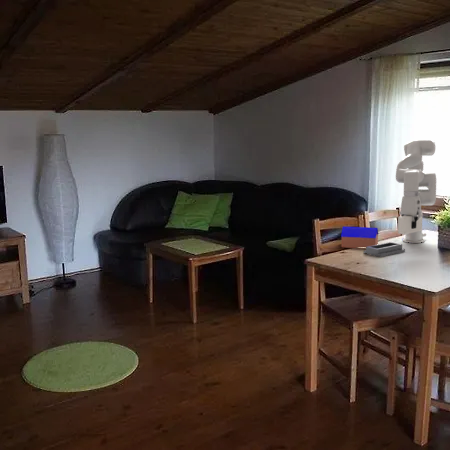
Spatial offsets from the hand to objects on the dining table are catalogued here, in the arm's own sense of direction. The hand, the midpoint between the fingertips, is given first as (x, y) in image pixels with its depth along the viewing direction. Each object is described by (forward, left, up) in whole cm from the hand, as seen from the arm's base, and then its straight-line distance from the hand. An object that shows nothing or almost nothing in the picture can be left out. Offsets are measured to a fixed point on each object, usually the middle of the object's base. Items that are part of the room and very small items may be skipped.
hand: (410, 227), depth 294 cm
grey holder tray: (+5, -13, -15) cm, 21 cm away
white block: (0, 0, -2) cm, 2 cm away
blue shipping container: (+2, -33, -16) cm, 37 cm away
